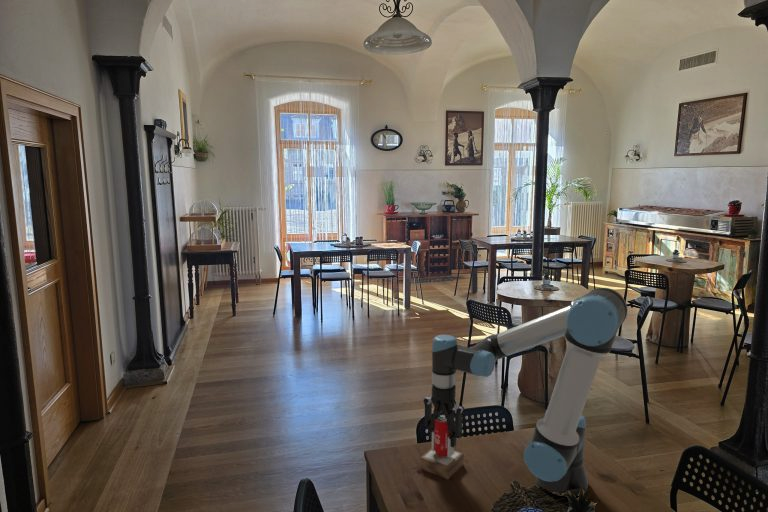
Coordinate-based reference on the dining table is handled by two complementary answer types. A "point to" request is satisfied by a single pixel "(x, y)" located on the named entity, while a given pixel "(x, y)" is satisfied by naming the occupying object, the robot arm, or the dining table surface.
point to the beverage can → (441, 436)
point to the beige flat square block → (441, 463)
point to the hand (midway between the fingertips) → (442, 451)
